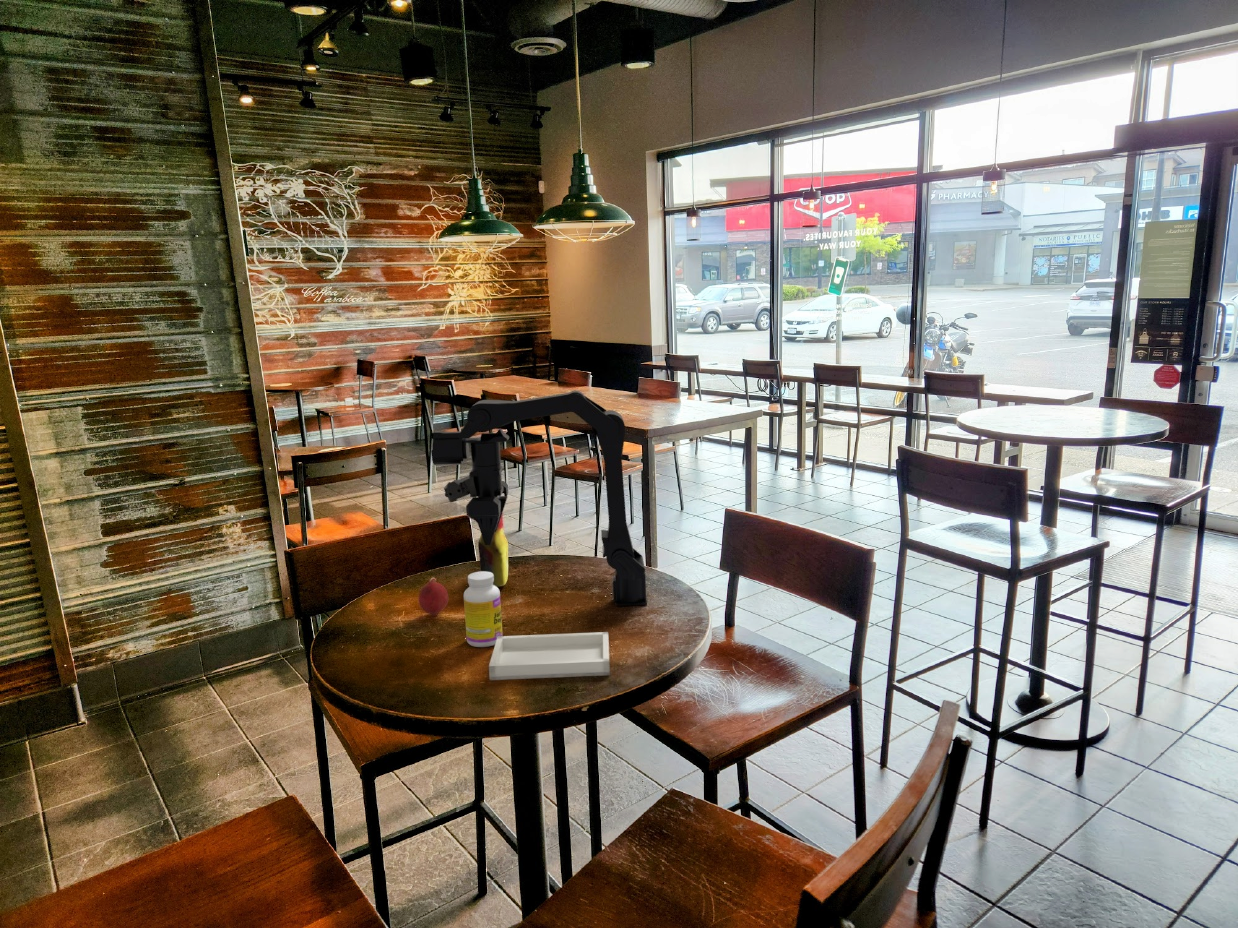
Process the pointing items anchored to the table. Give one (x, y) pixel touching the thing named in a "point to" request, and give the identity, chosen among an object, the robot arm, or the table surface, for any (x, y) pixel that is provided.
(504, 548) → the bottle
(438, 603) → the onion
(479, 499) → the robot arm
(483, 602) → the supplement bottle
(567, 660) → the tray
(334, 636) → the table surface
